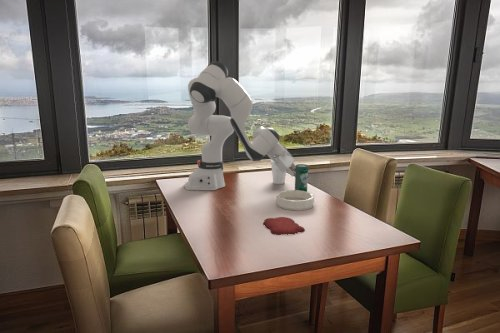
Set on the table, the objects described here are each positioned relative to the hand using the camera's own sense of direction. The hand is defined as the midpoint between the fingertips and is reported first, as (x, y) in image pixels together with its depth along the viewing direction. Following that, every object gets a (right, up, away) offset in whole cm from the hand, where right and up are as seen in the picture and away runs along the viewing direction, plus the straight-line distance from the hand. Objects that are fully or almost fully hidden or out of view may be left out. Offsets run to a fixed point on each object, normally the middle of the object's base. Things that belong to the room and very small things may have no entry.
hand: (295, 173), depth 192 cm
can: (+3, -11, +2) cm, 11 cm away
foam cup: (-7, -6, +22) cm, 24 cm away
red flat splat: (-10, -21, -40) cm, 47 cm away
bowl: (-2, -15, -14) cm, 21 cm away
